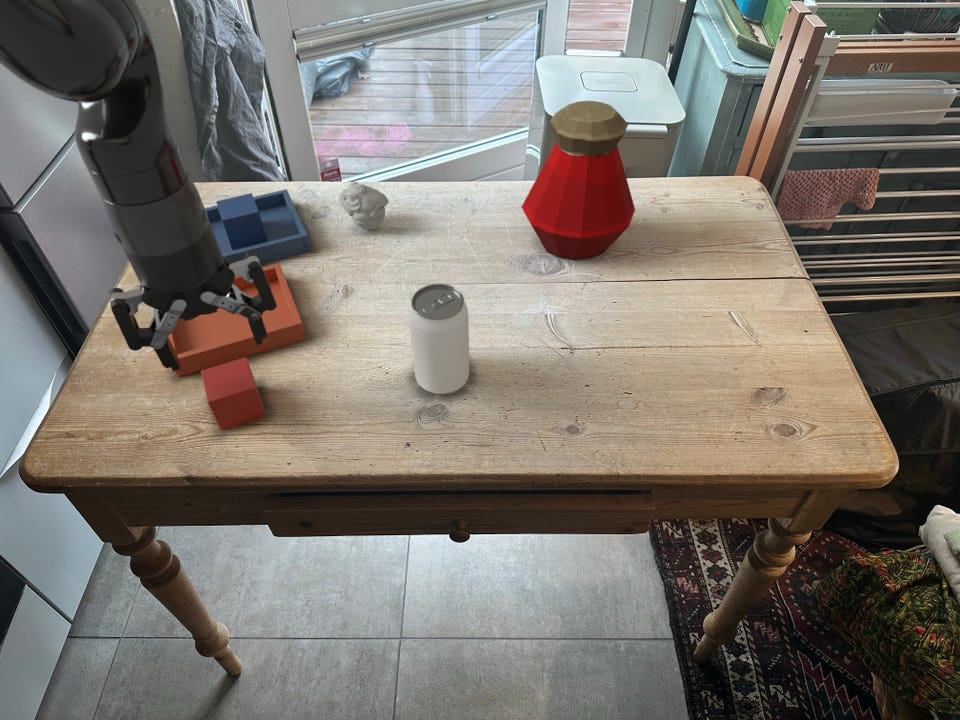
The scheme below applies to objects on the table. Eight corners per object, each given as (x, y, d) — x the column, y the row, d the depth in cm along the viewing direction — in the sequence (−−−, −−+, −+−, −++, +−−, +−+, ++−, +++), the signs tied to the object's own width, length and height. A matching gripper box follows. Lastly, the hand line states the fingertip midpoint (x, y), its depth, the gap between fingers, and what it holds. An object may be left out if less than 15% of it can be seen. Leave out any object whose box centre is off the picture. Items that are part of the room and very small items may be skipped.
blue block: (232, 249, 96) (222, 220, 92) (225, 230, 99) (215, 201, 95) (267, 240, 97) (258, 211, 93) (260, 221, 100) (251, 192, 96)
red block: (220, 430, 75) (207, 402, 71) (213, 399, 78) (200, 370, 74) (265, 416, 76) (255, 387, 73) (256, 385, 80) (246, 356, 76)
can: (404, 374, 81) (394, 299, 72) (445, 347, 84) (441, 272, 75) (438, 405, 77) (433, 331, 69) (480, 376, 80) (480, 302, 72)
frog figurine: (345, 215, 102) (338, 175, 97) (391, 213, 103) (387, 172, 98) (343, 240, 98) (335, 199, 93) (391, 237, 99) (386, 196, 94)
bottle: (519, 271, 94) (526, 138, 79) (519, 214, 103) (526, 85, 88) (633, 274, 93) (662, 141, 78) (623, 216, 102) (647, 87, 88)
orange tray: (178, 377, 80) (170, 361, 78) (165, 310, 88) (157, 294, 86) (306, 338, 85) (302, 322, 83) (283, 278, 93) (279, 262, 90)
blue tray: (199, 280, 92) (193, 264, 90) (186, 229, 100) (180, 213, 98) (311, 251, 97) (307, 235, 95) (290, 204, 104) (286, 188, 102)
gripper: (237, 184, 63) (276, 310, 75) (73, 223, 59) (143, 349, 71) (254, 228, 59) (293, 355, 71) (78, 274, 55) (151, 399, 67)
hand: (217, 352), depth 71 cm, fingers open, 8 cm apart
